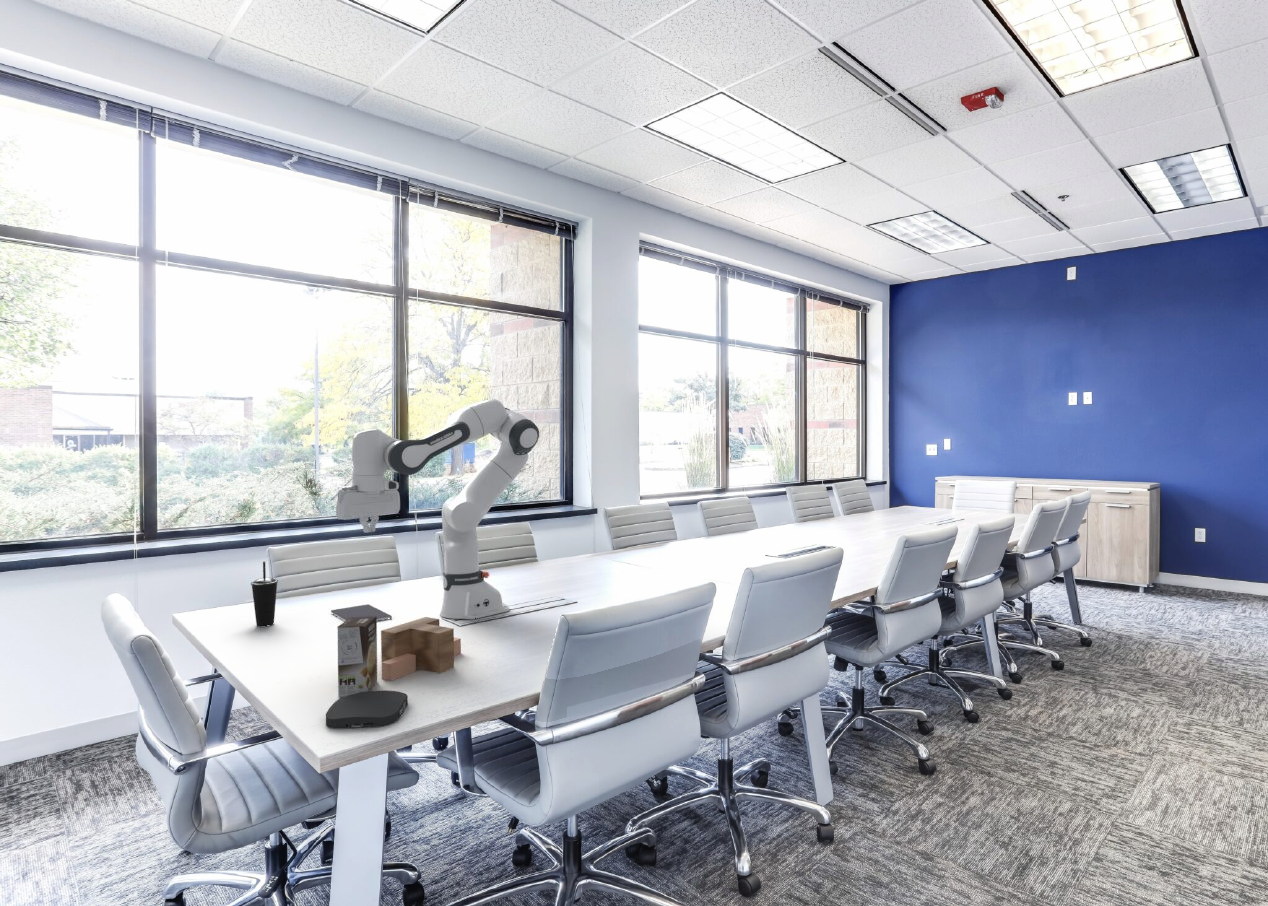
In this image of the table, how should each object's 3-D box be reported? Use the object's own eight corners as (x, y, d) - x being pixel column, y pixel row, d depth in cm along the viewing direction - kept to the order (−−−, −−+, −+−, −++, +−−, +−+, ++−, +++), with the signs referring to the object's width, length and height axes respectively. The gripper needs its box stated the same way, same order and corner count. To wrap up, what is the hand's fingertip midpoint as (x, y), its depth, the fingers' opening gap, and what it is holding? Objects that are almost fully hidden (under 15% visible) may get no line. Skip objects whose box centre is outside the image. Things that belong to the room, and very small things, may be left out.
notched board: (381, 678, 168) (381, 662, 168) (452, 651, 189) (452, 637, 189) (390, 680, 166) (390, 664, 166) (460, 653, 187) (460, 638, 187)
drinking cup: (267, 628, 213) (265, 564, 213) (245, 627, 215) (244, 563, 214) (284, 622, 221) (283, 559, 220) (263, 621, 222) (262, 559, 222)
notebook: (391, 620, 224) (368, 608, 240) (391, 615, 224) (368, 604, 240) (351, 627, 216) (330, 614, 232) (351, 622, 216) (330, 610, 232)
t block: (381, 669, 174) (381, 630, 174) (426, 653, 187) (425, 616, 187) (424, 679, 167) (423, 638, 167) (467, 662, 180) (467, 623, 180)
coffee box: (366, 696, 156) (365, 626, 156) (337, 697, 156) (336, 627, 155) (378, 682, 165) (377, 615, 165) (350, 683, 165) (349, 616, 165)
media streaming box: (344, 703, 153) (344, 690, 153) (411, 701, 154) (411, 687, 154) (319, 731, 139) (319, 716, 139) (394, 728, 140) (393, 714, 140)
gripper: (345, 487, 191) (346, 537, 191) (403, 483, 209) (403, 528, 209) (330, 486, 194) (331, 535, 195) (388, 482, 212) (389, 527, 212)
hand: (369, 532), depth 202 cm, fingers closed
